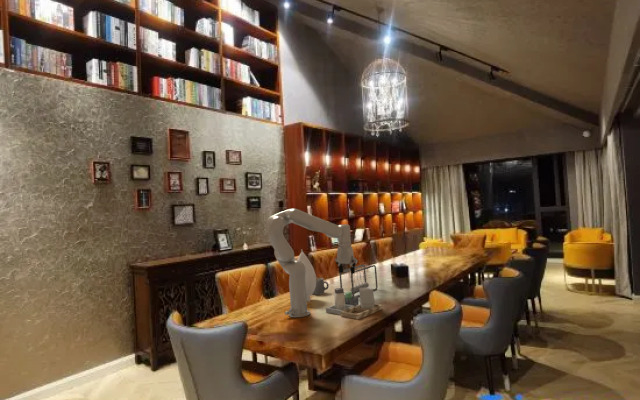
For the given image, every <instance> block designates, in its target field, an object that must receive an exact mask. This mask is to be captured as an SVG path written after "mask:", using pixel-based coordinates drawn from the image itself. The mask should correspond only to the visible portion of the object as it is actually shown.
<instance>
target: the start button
mask: <svg viewBox="0 0 640 400" xmlns="http://www.w3.org/2000/svg"><path fill="white" fill-rule="evenodd" d="M344 295H345V296H346V299H351V298H352V292H351V291H346V292H344Z"/></svg>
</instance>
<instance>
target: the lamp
mask: <svg viewBox="0 0 640 400" xmlns="http://www.w3.org/2000/svg"><path fill="white" fill-rule="evenodd" d="M296 260H298V261H301V262H302V263H303V264H304V266H305V269H306V273H305V285H306V299H307V302H310V301H311V300H312V299H311V296H312V293H313V292H314V290H315V287H316V278H317V275H316V272H315V269H314V266H313V265H312V263H311V261H310V260H309V258H308V256H307V255H306V254H305V252H304V251H303V250H301V252H300V254H299V256H298V257H297V259H296Z"/></svg>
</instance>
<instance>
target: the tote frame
mask: <svg viewBox="0 0 640 400" xmlns="http://www.w3.org/2000/svg"><path fill="white" fill-rule="evenodd" d="M352 307H355V306H353V305H346V304H345V308H346V309H343V310H337V309H335V304H333V305H331V306H328V307H326V308H325V313H327V314H333V315H338V316H341V312H342V311H344V310H347V309H350V308H352Z"/></svg>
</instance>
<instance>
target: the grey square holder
mask: <svg viewBox="0 0 640 400" xmlns="http://www.w3.org/2000/svg"><path fill="white" fill-rule="evenodd" d="M359 303H360V302H359V297H355V295H354V296H352V298H351V299H346V296H345V304H346V305H353V306H357V305H360V304H359Z"/></svg>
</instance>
